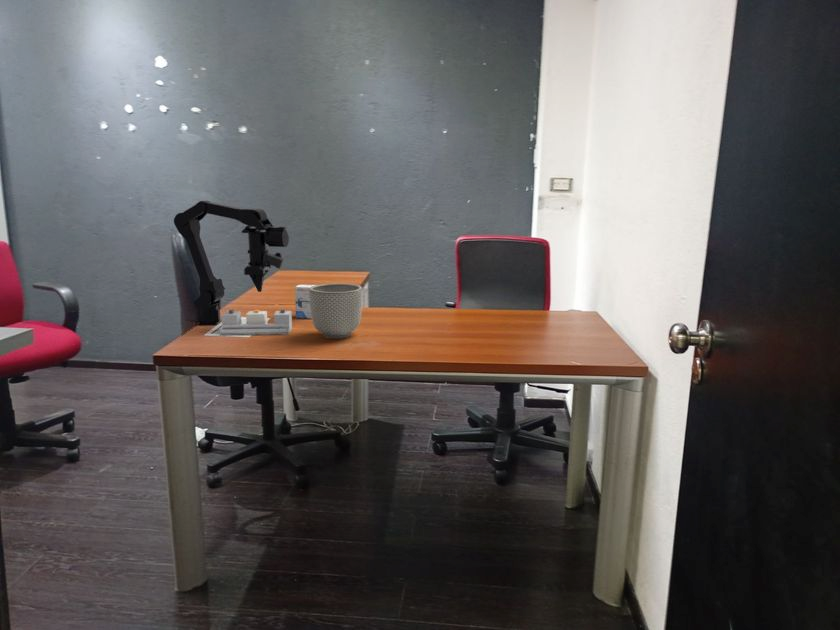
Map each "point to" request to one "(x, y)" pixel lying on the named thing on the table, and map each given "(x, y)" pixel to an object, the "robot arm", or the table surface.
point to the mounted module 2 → (283, 317)
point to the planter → (336, 308)
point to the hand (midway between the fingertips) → (259, 291)
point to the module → (256, 317)
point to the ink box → (302, 301)
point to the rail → (255, 329)
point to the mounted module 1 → (231, 317)
